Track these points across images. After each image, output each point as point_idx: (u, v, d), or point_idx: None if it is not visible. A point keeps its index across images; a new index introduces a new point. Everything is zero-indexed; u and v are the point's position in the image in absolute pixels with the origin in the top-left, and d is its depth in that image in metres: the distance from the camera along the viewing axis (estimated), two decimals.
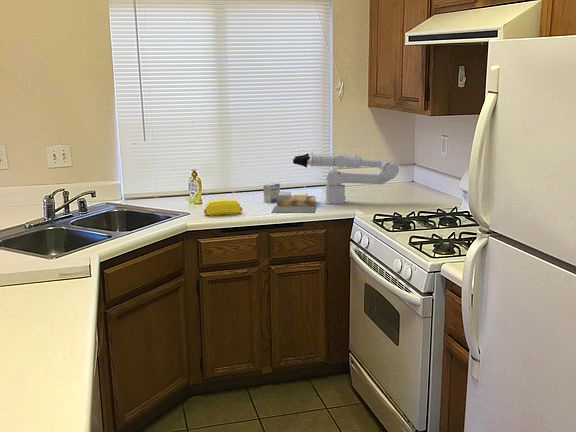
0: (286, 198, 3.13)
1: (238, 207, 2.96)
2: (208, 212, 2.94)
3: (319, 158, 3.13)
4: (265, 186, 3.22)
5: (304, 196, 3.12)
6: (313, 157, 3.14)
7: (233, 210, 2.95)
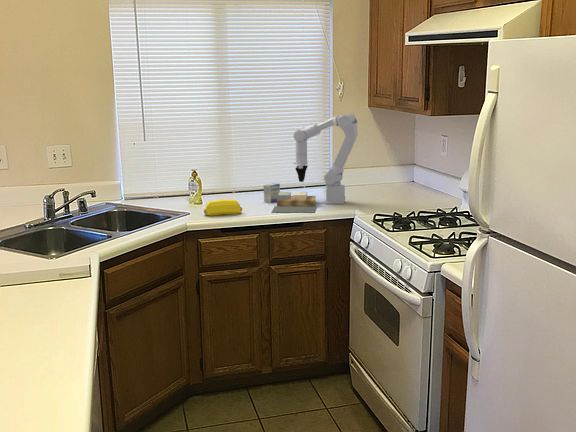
0: (286, 198, 3.13)
1: (238, 207, 2.96)
2: (208, 212, 2.94)
3: (298, 156, 3.20)
4: (265, 186, 3.22)
5: (304, 196, 3.12)
6: (297, 162, 3.21)
7: (233, 210, 2.95)
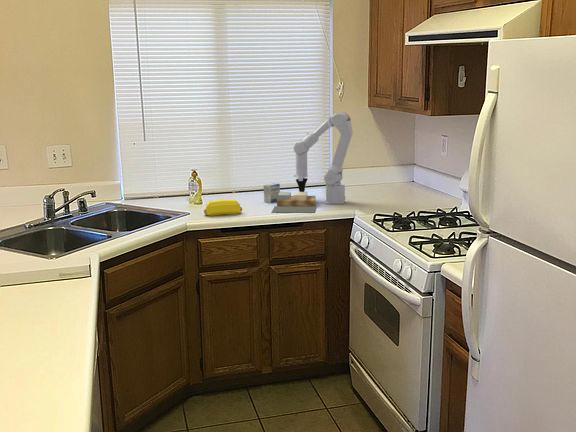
0: (286, 198, 3.13)
1: (238, 207, 2.96)
2: (208, 212, 2.94)
3: (298, 168, 3.21)
4: (265, 186, 3.22)
5: (304, 196, 3.12)
6: (297, 174, 3.22)
7: (233, 210, 2.95)
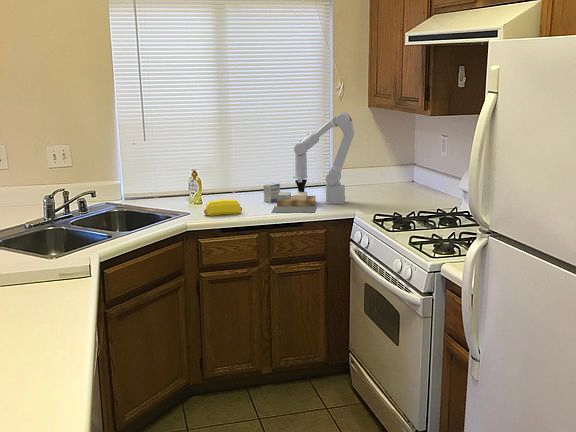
0: (286, 198, 3.13)
1: (238, 207, 2.97)
2: (208, 212, 2.94)
3: (297, 169, 3.17)
4: (265, 186, 3.22)
5: (304, 196, 3.12)
6: (297, 175, 3.18)
7: (233, 210, 2.95)
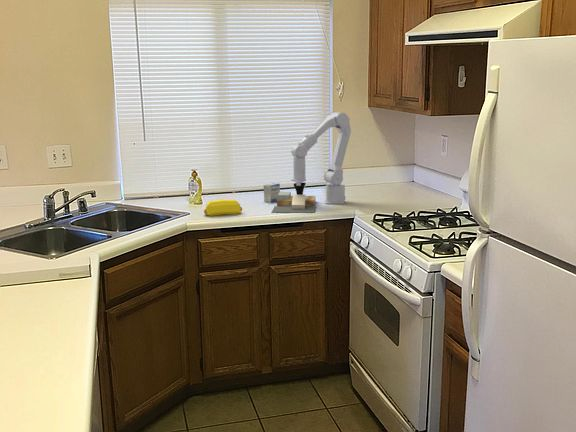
0: (286, 198, 3.13)
1: (238, 207, 2.97)
2: (208, 212, 2.93)
3: (296, 172, 3.08)
4: (265, 186, 3.22)
5: (302, 206, 3.04)
6: (295, 178, 3.09)
7: (233, 210, 2.95)
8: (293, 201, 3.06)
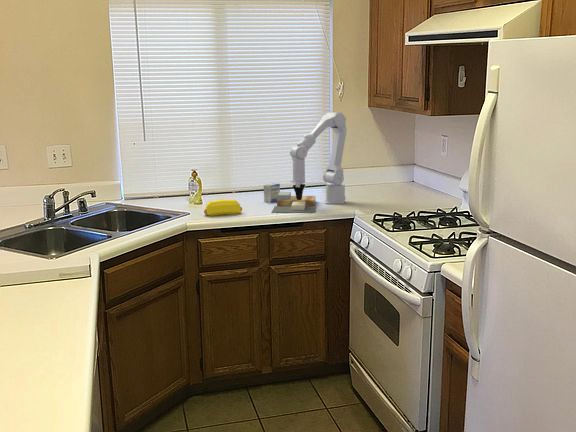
0: (286, 198, 3.13)
1: (238, 207, 2.97)
2: (209, 212, 2.93)
3: (295, 174, 3.04)
4: (265, 186, 3.22)
5: (302, 206, 3.02)
6: (294, 180, 3.05)
7: (234, 210, 2.95)
8: (293, 204, 3.05)
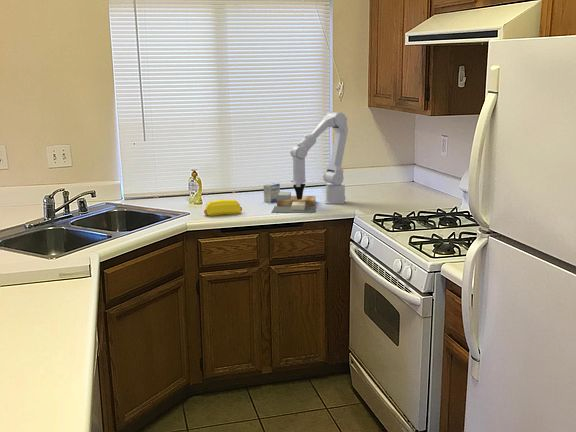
0: (286, 198, 3.13)
1: (238, 207, 2.97)
2: (209, 212, 2.93)
3: (295, 173, 3.05)
4: (265, 186, 3.22)
5: (302, 206, 3.02)
6: (295, 179, 3.06)
7: (234, 210, 2.95)
8: (293, 204, 3.05)
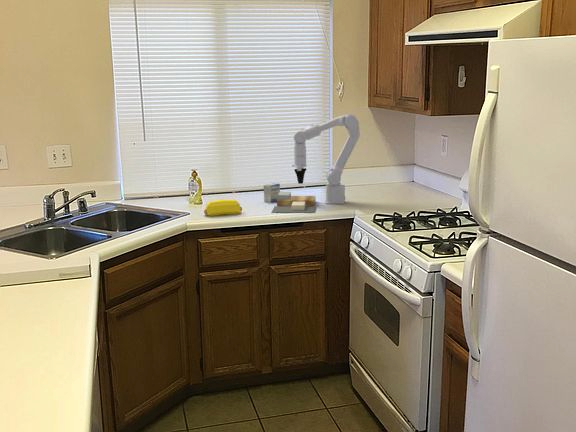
0: (286, 198, 3.13)
1: (238, 207, 2.97)
2: (209, 212, 2.93)
3: (297, 158, 3.12)
4: (265, 186, 3.22)
5: (302, 206, 3.02)
6: (296, 164, 3.13)
7: (234, 210, 2.95)
8: (293, 204, 3.05)
